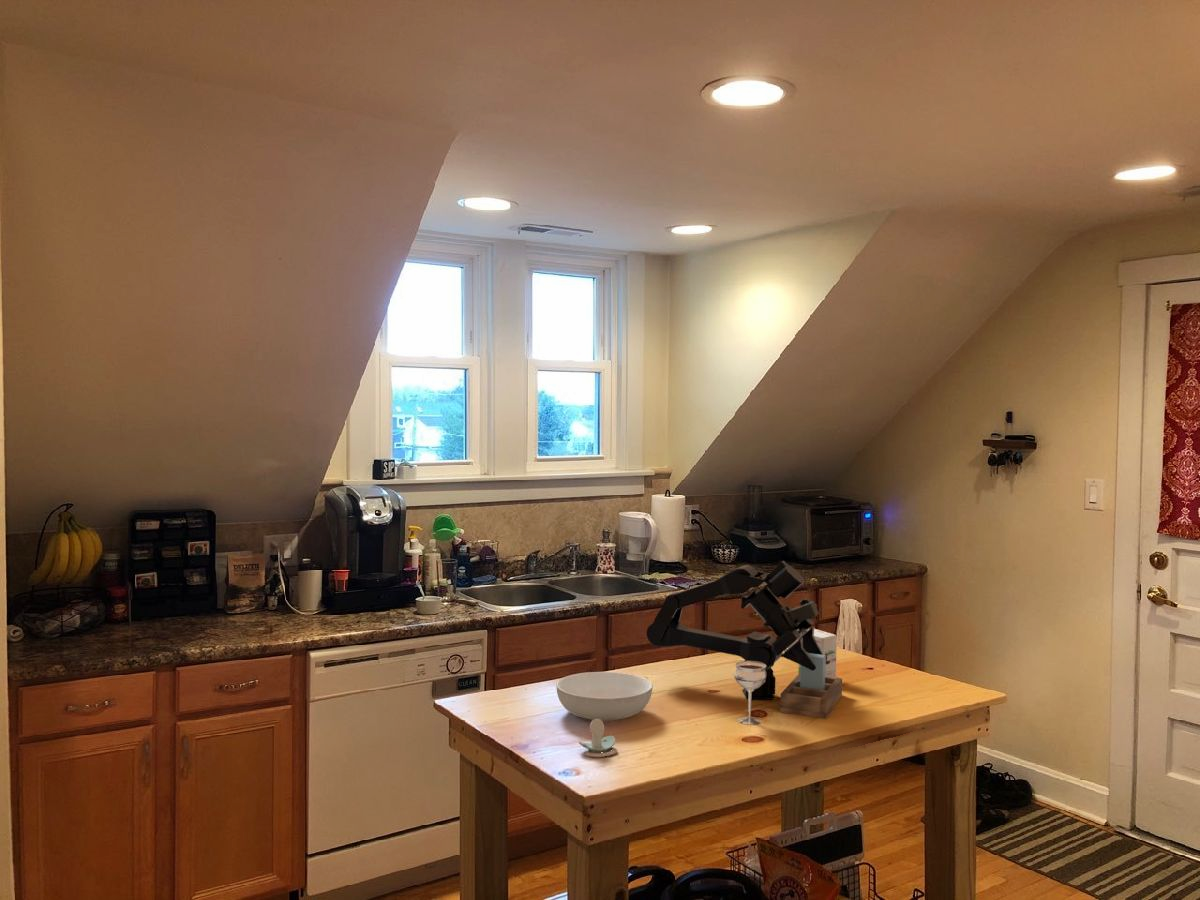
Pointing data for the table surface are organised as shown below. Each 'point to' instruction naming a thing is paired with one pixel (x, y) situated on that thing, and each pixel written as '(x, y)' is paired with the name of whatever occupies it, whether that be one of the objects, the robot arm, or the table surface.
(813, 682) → the light blue block
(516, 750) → the table surface
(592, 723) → the pacifier
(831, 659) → the ink box
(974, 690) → the table surface
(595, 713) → the serving bowl
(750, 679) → the wineglass
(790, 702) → the rack
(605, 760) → the table surface
